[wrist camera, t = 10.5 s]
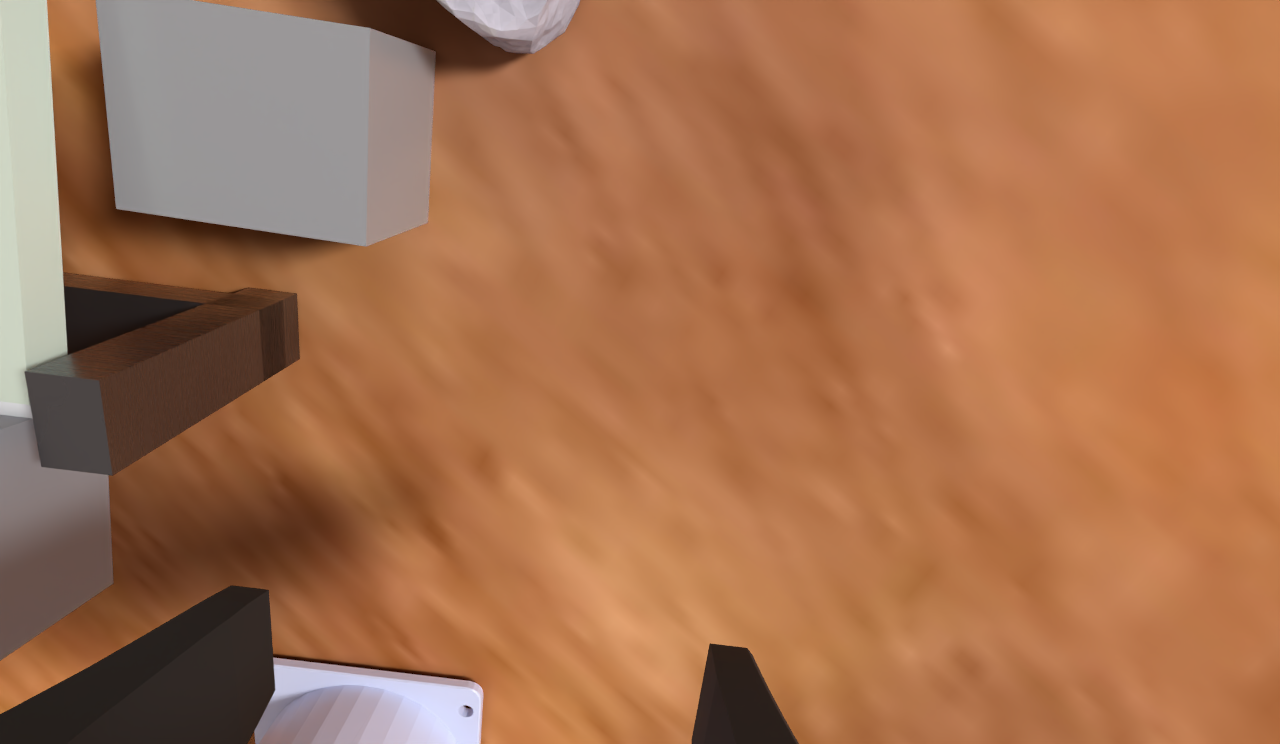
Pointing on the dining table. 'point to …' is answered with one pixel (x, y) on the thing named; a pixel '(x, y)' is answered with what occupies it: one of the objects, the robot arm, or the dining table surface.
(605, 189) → the dining table surface
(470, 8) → the stone block
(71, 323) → the frame
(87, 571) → the trapdoor
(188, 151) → the grey rectangular block
